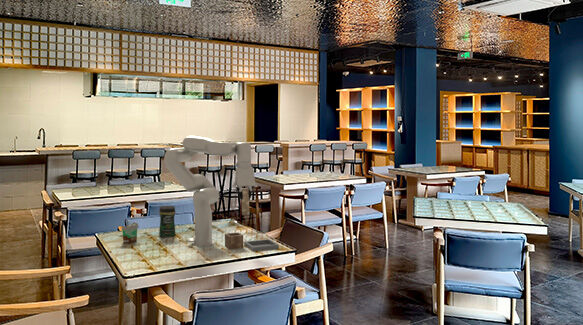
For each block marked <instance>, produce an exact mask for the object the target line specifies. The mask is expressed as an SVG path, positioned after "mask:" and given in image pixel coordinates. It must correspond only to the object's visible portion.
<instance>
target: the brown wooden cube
mask: <svg viewBox="0 0 583 325" xmlns="http://www.w3.org/2000/svg"><path fill="white" fill-rule="evenodd" d="M224 247H225V248H227V250H229V251H230V250H236V249H237V250H240V249H244V234H243V233H240V232H228V233H227V232H226V233H224Z"/></svg>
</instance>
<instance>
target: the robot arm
mask: <svg viewBox="0 0 583 325" xmlns="http://www.w3.org/2000/svg"><path fill="white" fill-rule="evenodd" d="M251 149H252V145H251V143H250V142H249V141H248V142H247V141H246V142H245V141H242V142H241V141H240V142H236V141H226V142H225V141H224V142H223V141H216V140H215V141H214V140H212V138H210V137H209V138H208V137H202V136H200V135H188V136H185V137H184V139H182V147H173V148H169V149H168V150H167V151H166V152H165V154H164V160H163V161H164V165H165V167H166V170H168V171H169V172H170V173H171V174H172V176H174V177H175V179H176V180H177V181H178V183H179V184H180V185H181V186H182V187H183V189H185V190H186V191H187V192H190V193H191V192H194V194H193V196H192V203H193V211H194V235H193V237H192V238H186V239H185V242H186V243H191V244H192V245H194V246H197V247H198V246H211V245H214V244H215V243H216V242H215V241H214V240H213V216H212V215H213V212H212V208H211V205H212V204H215V203H216V202H218V201H219V199H220V193H219V191H218V189H217V188H216V187H215V185H214V184H212V182H211V181H210V180H209V179H208V177H206V176H205V175H203V174H201V173H198V174H197V173H196V174H194V173H193V172H191V171H190V170H189V168H188V167H187V166H185V165H184V164H183V163H187V162H188V161H190V160H192V158H194V157H195V156H196V155H198V154H199V153H201V154H202V153H203V154H208V155H212V156H220V157H233V156H236V163H234V166H235V167H236V168H235V175H234V182H233V184H232V185H231V187H232V188H233V189H236V191H237V192H238V198H239V199H240V200H242V199H243V194H242V189H243V187H247V188H248V189H249V200H250V199H251V197H252V191H253V190H254V189H255V188H256V187H257V186H258V183H257V182H256V179H255V171H254V167H252V150H251Z"/></svg>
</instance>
